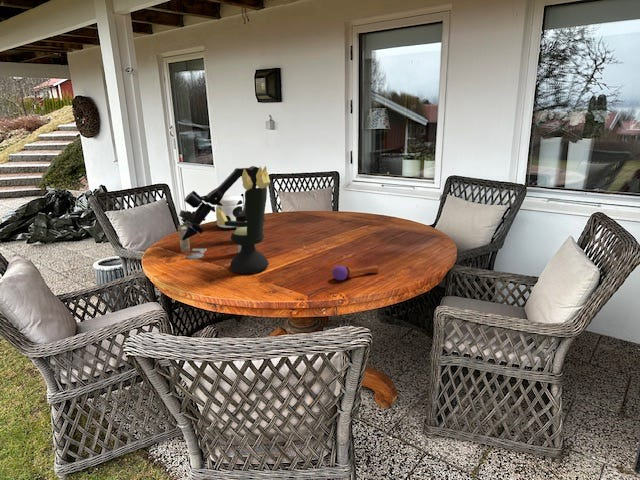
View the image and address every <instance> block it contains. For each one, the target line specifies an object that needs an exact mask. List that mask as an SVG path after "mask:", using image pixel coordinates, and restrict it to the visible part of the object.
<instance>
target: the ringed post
mask: <svg viewBox="0 0 640 480" xmlns="http://www.w3.org/2000/svg"><path fill="white" fill-rule="evenodd" d="M177 231H178V237H179V246H180V252H181V253H188V251H189V252H191V245H190V237H189V238H187V239H186V240H182V238H183V236H184V235H185V233H186V231H187V225H183V224H179V225H177Z"/></svg>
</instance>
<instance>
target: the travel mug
mask: <svg viewBox="0 0 640 480" xmlns="http://www.w3.org/2000/svg"><path fill="white" fill-rule="evenodd" d="M236 221H240V222H247V217H246V213H244V214H239V215H237V216H236ZM238 228H240V227H236V228H235V229H236V230H237V229H238ZM236 230H235V231H236ZM237 251H238V253H239V252H240V251H241V245H237ZM238 253H237V254H238Z"/></svg>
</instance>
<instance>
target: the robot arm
mask: <svg viewBox="0 0 640 480" xmlns="http://www.w3.org/2000/svg"><path fill="white" fill-rule="evenodd" d="M244 168H245V170H246V172H247V174H248V176H249V177H250V178H251V181H252V183H253V185H252V189H254V188H257V187H258V186H257V185H256V182H257V178H256V174H257V172H258V170H259V167H258V166H255V165H251V166H250V167H242V168H240V167H237V168H235V169H234V170H233V171H232V172H231V174H229V176H227V177H226V179H224V181H223V182H222V183H220V185H219V186H218V187H216V188H214V189H212V190H211V191H210V192H208V193H207V194H206V195H203V196H200V195H199V193H197V192H196V191H195V190H192V191H191V192H189V194H187V195H186V197H185V198H184V202H186V204H187V205H188V206H190V207H191V208H193V209H195V208H196V210H195V211H189V210H183V209H181V210H180V212H179V215H178V216H179V217H180V218H181V219H180V221H181V222H182V225H187V231H186V233H185V235H184V236H183V238H182V240H186V239H187V238H189V239H190V238H191V237H193V236H195V235H198V234H200V235H202V233H203V232H204V228H203V227H202V226H201V224H202V223H203V222H204V221H206V218H207V216H208V215H209V214H210V213H211V212H213V213H216V206H217V204H219V202H220V201H221V199H222V198H223V196H225V193H226V192H227V191H228V190H229V189H230V188H231V187H233V185H234V184H235V183H236V182H237V181H238V180H239V179H240V178H242V174H243V170H244ZM243 208H244V209H243V211H242V213H241V212H239V214H244V213H246V205H245V203H243Z"/></svg>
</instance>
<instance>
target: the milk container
mask: <svg viewBox="0 0 640 480" xmlns="http://www.w3.org/2000/svg"><path fill="white" fill-rule="evenodd" d="M243 199H244V197H243V196H242V195H224V196H223V198H222V199H221V201H220V202H219V204H217V205H216V207H217V208H219V210H221V211H222V212H223V213H224V214H225V216H226V218H227V220H228V221H236V216H237V215H239V212H241V213H242V211H243V209H244V200H243ZM216 224H217V226H218V227H219V228H221V229H226V230H233V229H236V227H234V226H225V225H219V221H218V219H217V218H216Z"/></svg>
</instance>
